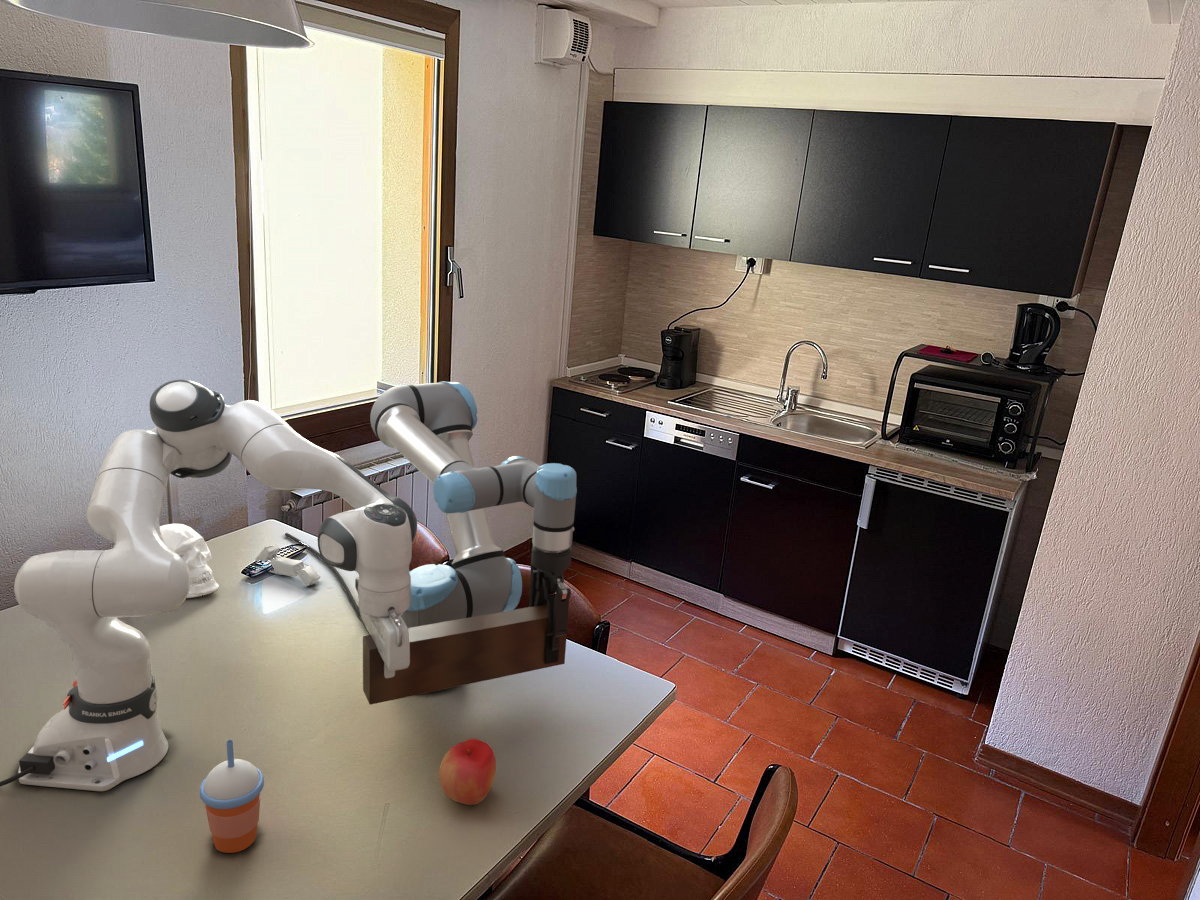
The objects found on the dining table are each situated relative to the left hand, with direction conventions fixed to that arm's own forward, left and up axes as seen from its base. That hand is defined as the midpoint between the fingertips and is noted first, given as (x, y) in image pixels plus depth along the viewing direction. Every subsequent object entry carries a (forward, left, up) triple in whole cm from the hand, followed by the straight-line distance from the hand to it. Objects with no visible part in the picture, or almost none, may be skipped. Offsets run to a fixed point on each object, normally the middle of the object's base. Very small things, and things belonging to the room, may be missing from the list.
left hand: (383, 666), depth 152 cm
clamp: (-30, +73, -18) cm, 81 cm away
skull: (-54, +67, -18) cm, 88 cm away
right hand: (+30, +10, -4) cm, 32 cm away
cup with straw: (-21, -21, -18) cm, 34 cm away
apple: (+15, -13, -18) cm, 27 cm away
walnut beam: (+15, +5, -6) cm, 17 cm away
